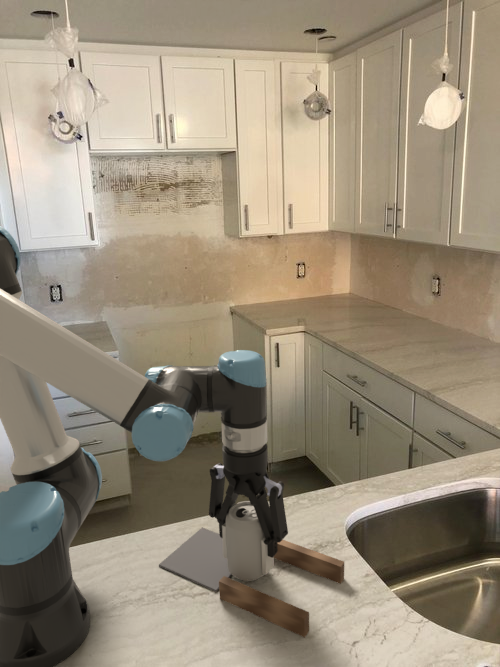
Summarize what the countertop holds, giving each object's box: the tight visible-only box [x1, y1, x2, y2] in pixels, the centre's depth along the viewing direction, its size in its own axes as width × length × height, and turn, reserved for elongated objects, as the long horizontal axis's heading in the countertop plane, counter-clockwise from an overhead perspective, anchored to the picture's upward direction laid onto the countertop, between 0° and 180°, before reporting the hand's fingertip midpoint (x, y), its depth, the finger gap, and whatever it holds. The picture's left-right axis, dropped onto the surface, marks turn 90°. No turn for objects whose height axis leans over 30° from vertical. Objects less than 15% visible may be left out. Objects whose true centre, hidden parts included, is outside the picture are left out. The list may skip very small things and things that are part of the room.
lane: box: [218, 539, 345, 638], centre depth 93 cm, size 16×15×4 cm
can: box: [226, 500, 265, 582], centre depth 95 cm, size 8×8×12 cm
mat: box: [158, 527, 233, 593], centre depth 102 cm, size 13×13×1 cm
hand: (248, 561), depth 96 cm, fingers closed on can, 7 cm apart
